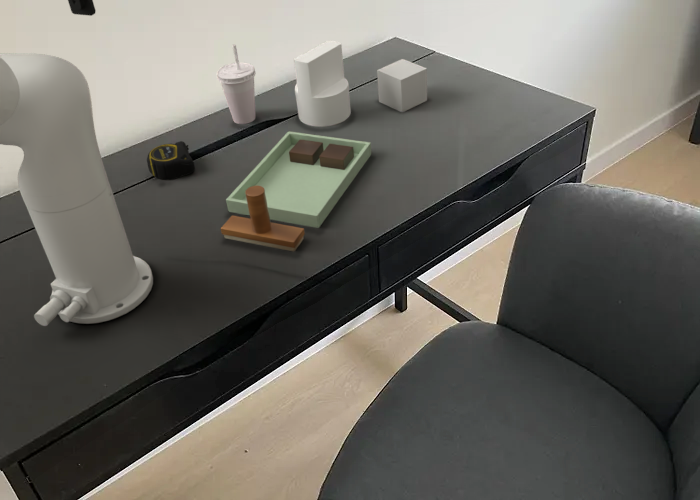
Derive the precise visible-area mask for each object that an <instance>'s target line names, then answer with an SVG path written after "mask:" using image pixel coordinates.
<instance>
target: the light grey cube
mask: <svg viewBox="0 0 700 500" xmlns="http://www.w3.org/2000/svg"><path fill="white" fill-rule="evenodd" d="M376 76H377V77H376V78H377V92H378V103H381V104H383V105H385V106H387V107H388V108H391V109H393V110H395V111H397V112H400V113H404V112H407V111H408V110H410V109H413V108H415V107H416V106H418V105H422V103H425V102H427V101H428V68H427V67H424V66H421V65H420V64H417V63H415V62H412V61H409V60H407V59H404V58H401V59H399V60H396V61H394V62H392V63H390V64H387V65H386V66H385V65H384V66H383V67H381V68H379V69H377V70H376Z"/></svg>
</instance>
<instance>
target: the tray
mask: <svg viewBox="0 0 700 500" xmlns="http://www.w3.org/2000/svg"><path fill="white" fill-rule="evenodd" d="M299 140H308V141H315V142H322V143H323V149H324V150H325V149H326V147H327V146H328V145H329V144H336V145H343V146H350V147H353V150H354V158H353V159H352V160H351V162H350V163H349V164H348V166H347V167H346V168H345V170H341V169H334V168H328V167H321V166H320V159H318V160H317V162H316V163H315V164H314V165H308V164H301V163H295V162H290V156H289V151H290V150H291V149H292V148H293V147H294V146H295V144H296V143H297V142H298V141H299ZM371 156H372V142H371V141H363V140H362V141H361V140H355V139H348V138H341V137H335V136H334V137H333V136H326V135H319V134H312V133H304V132H298V131H297V132H296V131H287V132H286V133H285V134H284V136H282V137H281V139H280V140H279V141H278V142H277V143H276V144H275V145H274V146H273V147H272V149H270V150H269V152H268V153H267V154H266V155H265V156H264V157H263V159H261V161H259V163H258V164H257V165H256V166H255V167H254V168H253V169H252V170H251V172H250V173H249V174H248V175H247V176H246V177H245V178H244V179H243V180H242V182H240V183H239V185H237V187H236V188H235V189H234V190H233V191H232V193H231V194H229V196H228V197H227V198H226V199H225V202H226V205H227V207H226V208H227V211H228V212H229V213H233V214H239V215H245V216H250V214H249V209H248V204H247V199H246V194H245V191H246V190H247V189H248V188H249V187H252V186H262V187H263V188H264V189H265V195H266V200H267V206H268V212H269V217H270V220H272V221H278V222H282V223H283V222H284V223H288V224H294V225H299V226H304V227H311V228H316V229H319V228H320V227H321V225H322V224H323V223H324V222H325V220H326V219H327V217H328V216H329V214H330V213H331V212H332V210H333V209H334V208H335V206H336V205H337V203H338V202H339V200H340V199H341V197H342V196H343V195H344V193H345V192H346V190H347V189H348V188H349V186H350V185H351V184H352V182H353V181H354V180H355V178H356V177H357V175H358V174H359V172H360V171H361V169H362V168H363V167H364V165H365V164H366V163H367V161H368V160H369V159H370V157H371Z"/></svg>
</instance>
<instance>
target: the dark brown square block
mask: <svg viewBox="0 0 700 500" xmlns="http://www.w3.org/2000/svg"><path fill="white" fill-rule="evenodd" d="M323 151H324V149H323V143H322V142H315V141H308V140H299V141H298V142H297V143H296V144H295V146H294V147H293V148H292V149H291V150H290V151H289V156H290V162H295V163H301V164H308V165H314V164H315V163H316V162H317V160H318V159H319V156H320V155H321V154H322V152H323Z"/></svg>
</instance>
